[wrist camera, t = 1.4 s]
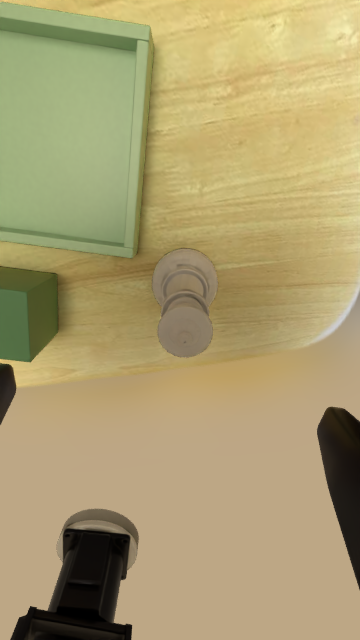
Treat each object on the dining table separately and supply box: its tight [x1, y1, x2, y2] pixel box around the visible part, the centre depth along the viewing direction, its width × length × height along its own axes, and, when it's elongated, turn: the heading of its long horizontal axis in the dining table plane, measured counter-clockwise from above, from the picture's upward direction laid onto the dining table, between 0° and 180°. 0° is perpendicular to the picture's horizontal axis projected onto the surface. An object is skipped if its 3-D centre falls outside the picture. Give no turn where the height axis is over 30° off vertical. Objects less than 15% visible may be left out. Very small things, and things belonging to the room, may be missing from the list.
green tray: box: [0, 2, 154, 258], centre depth 18 cm, size 11×11×2 cm
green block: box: [0, 267, 58, 362], centre depth 20 cm, size 4×4×4 cm
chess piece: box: [152, 248, 218, 357], centre depth 17 cm, size 4×4×10 cm
